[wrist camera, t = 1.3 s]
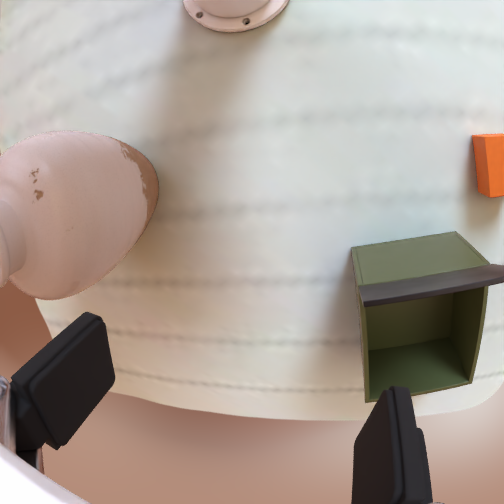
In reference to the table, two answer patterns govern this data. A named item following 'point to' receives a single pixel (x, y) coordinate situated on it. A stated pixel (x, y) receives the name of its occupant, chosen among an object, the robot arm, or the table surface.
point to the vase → (70, 210)
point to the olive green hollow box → (419, 317)
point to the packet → (489, 163)
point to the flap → (431, 285)
